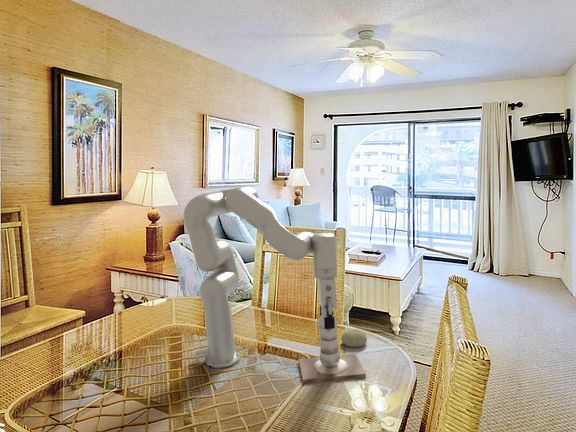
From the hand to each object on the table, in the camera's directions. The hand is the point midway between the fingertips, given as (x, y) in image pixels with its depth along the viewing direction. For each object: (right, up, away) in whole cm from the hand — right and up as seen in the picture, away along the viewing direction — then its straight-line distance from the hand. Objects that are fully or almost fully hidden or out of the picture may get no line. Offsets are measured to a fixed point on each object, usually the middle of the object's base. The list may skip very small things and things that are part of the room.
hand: (327, 322), depth 137 cm
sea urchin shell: (+12, -13, +20) cm, 27 cm away
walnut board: (+1, -16, +2) cm, 16 cm away
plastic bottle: (+1, -15, +2) cm, 15 cm away
